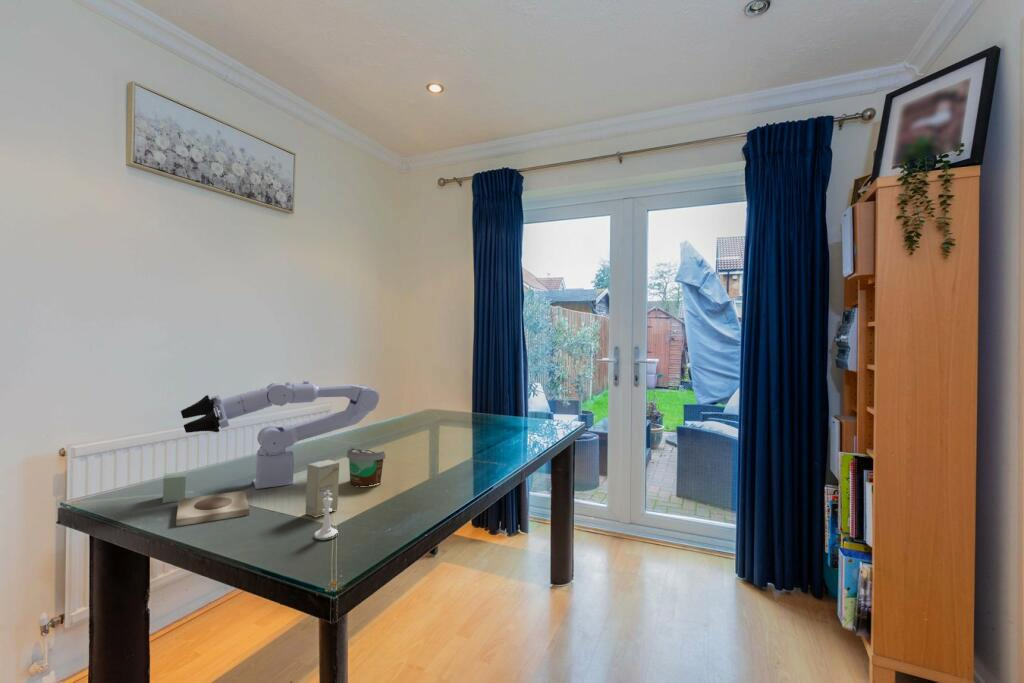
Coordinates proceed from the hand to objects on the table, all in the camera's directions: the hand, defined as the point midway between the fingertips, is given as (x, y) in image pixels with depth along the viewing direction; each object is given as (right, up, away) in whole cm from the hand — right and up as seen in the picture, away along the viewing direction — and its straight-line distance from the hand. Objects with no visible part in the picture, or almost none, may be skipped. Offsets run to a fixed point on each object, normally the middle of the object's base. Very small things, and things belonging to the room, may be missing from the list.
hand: (183, 421), depth 119 cm
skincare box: (+38, -21, -6) cm, 44 cm away
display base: (+13, -20, -8) cm, 25 cm away
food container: (+41, -21, +15) cm, 48 cm away
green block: (-1, -19, -2) cm, 19 cm away
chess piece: (+45, -22, -19) cm, 53 cm away
